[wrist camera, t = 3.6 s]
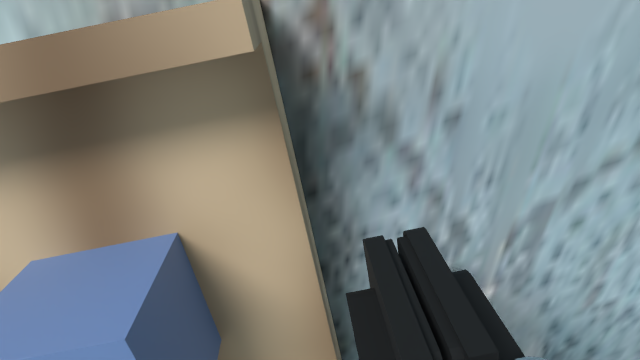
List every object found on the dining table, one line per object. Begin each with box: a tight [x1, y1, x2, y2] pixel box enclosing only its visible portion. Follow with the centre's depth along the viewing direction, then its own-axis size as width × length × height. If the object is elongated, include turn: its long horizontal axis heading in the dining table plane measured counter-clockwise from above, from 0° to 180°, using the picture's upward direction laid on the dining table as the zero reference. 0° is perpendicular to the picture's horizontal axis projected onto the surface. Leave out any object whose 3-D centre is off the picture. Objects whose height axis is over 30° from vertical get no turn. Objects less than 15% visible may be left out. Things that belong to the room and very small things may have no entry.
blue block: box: [0, 232, 221, 360], centre depth 11 cm, size 4×4×4 cm
